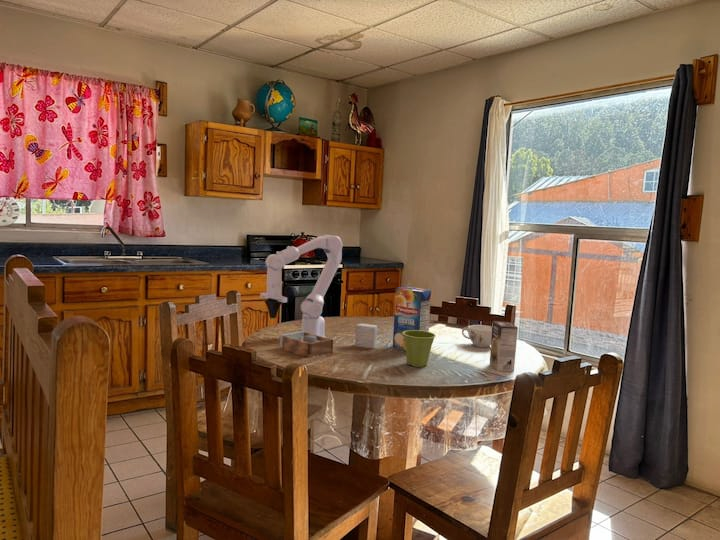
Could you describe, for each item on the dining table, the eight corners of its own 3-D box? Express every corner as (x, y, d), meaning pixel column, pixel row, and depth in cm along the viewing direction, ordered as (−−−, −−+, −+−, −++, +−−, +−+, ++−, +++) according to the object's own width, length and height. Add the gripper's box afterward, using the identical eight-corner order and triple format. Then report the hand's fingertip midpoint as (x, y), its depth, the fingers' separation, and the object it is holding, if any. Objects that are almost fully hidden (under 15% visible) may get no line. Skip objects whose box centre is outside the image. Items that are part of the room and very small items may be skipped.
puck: (310, 343, 211) (311, 334, 210) (318, 346, 207) (319, 337, 207) (300, 345, 207) (300, 336, 207) (308, 348, 204) (308, 338, 203)
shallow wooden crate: (281, 349, 209) (282, 336, 208) (304, 344, 218) (305, 332, 217) (309, 357, 199) (310, 344, 198) (332, 352, 207) (333, 339, 207)
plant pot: (410, 370, 189) (412, 338, 187) (394, 361, 199) (396, 330, 198) (440, 368, 193) (442, 336, 192) (423, 359, 204) (425, 329, 203)
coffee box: (488, 364, 202) (491, 320, 200) (505, 364, 202) (509, 321, 201) (496, 371, 193) (500, 326, 191) (514, 371, 193) (518, 326, 191)
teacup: (500, 345, 233) (501, 326, 232) (493, 351, 222) (494, 331, 221) (465, 340, 239) (466, 322, 238) (457, 345, 228) (458, 326, 227)
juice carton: (392, 347, 220) (395, 288, 218) (402, 344, 226) (405, 286, 224) (418, 352, 213) (421, 291, 211) (427, 349, 219) (431, 290, 216)
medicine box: (376, 346, 220) (378, 325, 219) (373, 349, 216) (374, 327, 215) (358, 344, 223) (359, 323, 222) (354, 346, 219) (355, 325, 218)
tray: (280, 345, 209) (280, 334, 209) (303, 340, 218) (303, 330, 218) (306, 353, 200) (307, 342, 199) (329, 348, 208) (330, 338, 208)
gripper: (254, 282, 221) (253, 316, 223) (277, 287, 212) (276, 322, 213) (268, 281, 227) (267, 314, 228) (291, 286, 217) (290, 319, 218)
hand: (272, 317), depth 221 cm, fingers closed
